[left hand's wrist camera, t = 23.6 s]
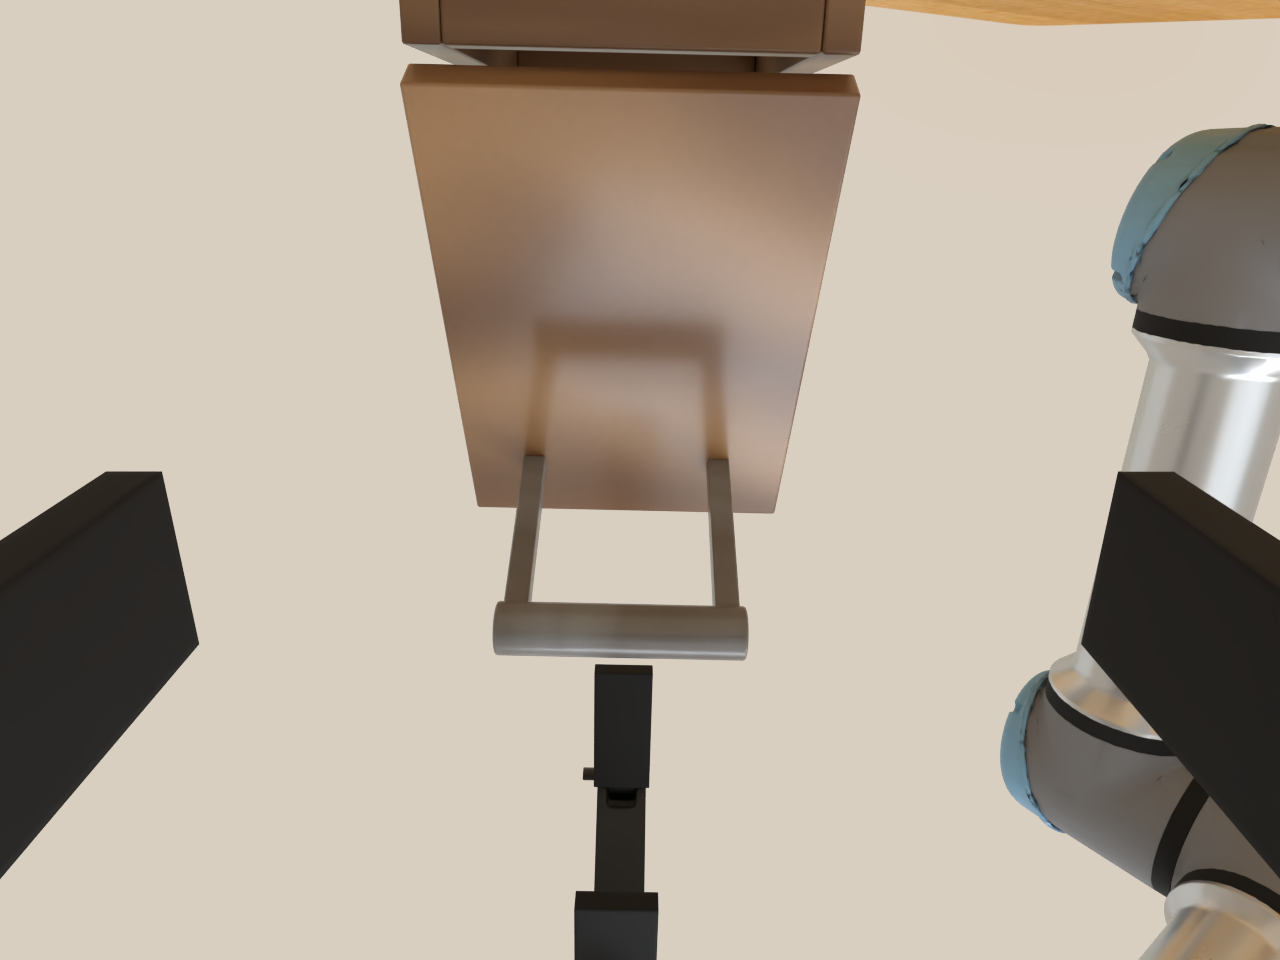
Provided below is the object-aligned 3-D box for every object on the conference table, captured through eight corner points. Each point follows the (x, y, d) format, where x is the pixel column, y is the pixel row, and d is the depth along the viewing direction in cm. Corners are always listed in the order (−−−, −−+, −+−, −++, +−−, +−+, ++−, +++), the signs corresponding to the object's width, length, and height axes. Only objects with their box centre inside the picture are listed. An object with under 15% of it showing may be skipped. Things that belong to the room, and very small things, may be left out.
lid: (771, 491, 32) (795, 700, 26) (481, 484, 32) (445, 692, 26) (854, 73, 21) (924, 285, 15) (407, 62, 21) (317, 271, 15)
